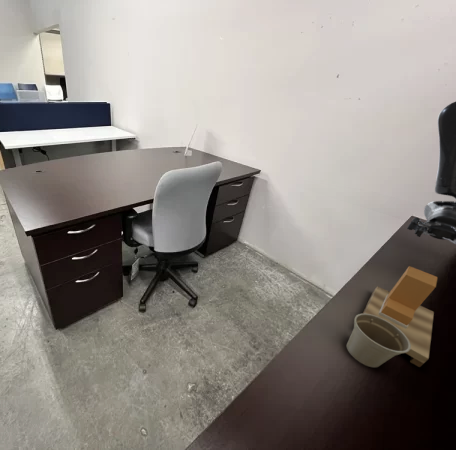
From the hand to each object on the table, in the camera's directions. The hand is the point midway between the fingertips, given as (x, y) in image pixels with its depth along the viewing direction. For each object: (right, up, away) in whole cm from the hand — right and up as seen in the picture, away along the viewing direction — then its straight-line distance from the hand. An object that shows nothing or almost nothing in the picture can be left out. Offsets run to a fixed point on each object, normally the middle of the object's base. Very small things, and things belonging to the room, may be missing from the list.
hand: (441, 240), depth 65 cm
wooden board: (-16, -23, -2) cm, 28 cm away
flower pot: (-30, -26, -10) cm, 41 cm away
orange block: (-15, -18, -3) cm, 24 cm away
